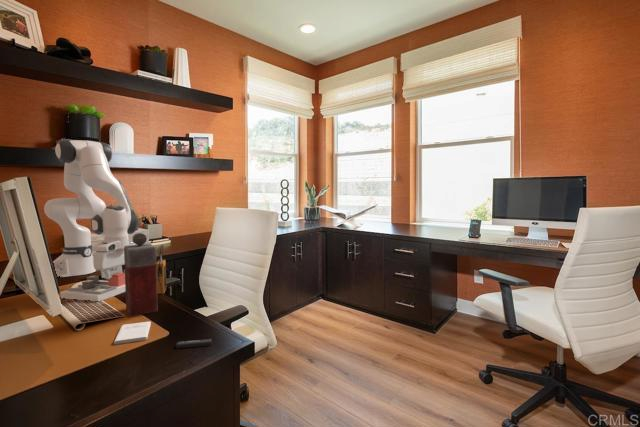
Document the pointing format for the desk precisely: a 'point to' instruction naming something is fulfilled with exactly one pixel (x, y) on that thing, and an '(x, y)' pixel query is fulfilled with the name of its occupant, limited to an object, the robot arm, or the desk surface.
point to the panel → (93, 292)
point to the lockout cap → (117, 279)
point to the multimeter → (161, 274)
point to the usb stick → (194, 343)
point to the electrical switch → (112, 271)
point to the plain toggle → (95, 278)
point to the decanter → (140, 276)
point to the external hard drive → (133, 332)
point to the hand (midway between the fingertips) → (118, 276)
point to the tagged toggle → (88, 284)
